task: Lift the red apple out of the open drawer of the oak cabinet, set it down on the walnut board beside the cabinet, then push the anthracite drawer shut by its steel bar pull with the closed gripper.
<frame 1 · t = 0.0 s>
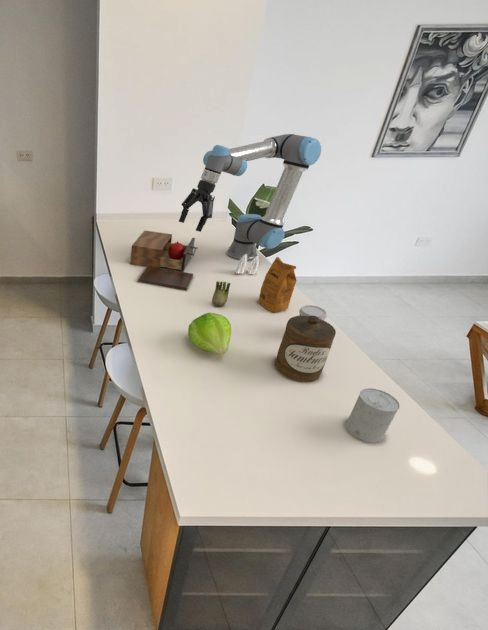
hand: (189, 226, 198), 28 cm above the table, tool tilted 20°, fingers open, 13 cm apart
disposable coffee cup: (304, 336, 168), on the table
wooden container: (296, 369, 151), on the table
shaker set: (244, 274, 217), on the table
grey metal can: (363, 430, 126), on the table
lettuce: (208, 347, 163), on the table
apple: (175, 259, 231), point 2 cm above the table, touching drawer
cabinet: (150, 258, 236), on the table
drawer: (176, 252, 228), point 6 cm above the table, slide at 11.0 cm, touching apple
coffee package: (271, 306, 189), on the table
fennel bulb: (218, 305, 190), on the table
board: (165, 279, 213), on the table
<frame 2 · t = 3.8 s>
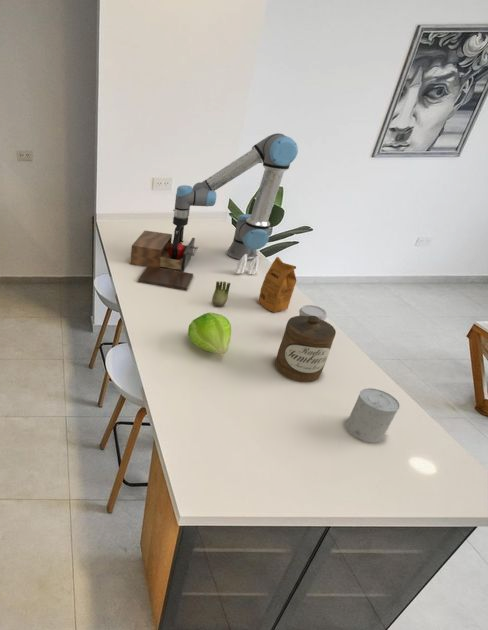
hand: (175, 256, 230), 3 cm above the table, tool pointing down, fingers closed on apple, 9 cm apart
apple: (175, 259, 231), point 2 cm above the table, touching drawer, gripper
everything else where it was.
when the fingers open (3 cm above the table, at t = 11.2 s): apple stays where it is, resting on board.
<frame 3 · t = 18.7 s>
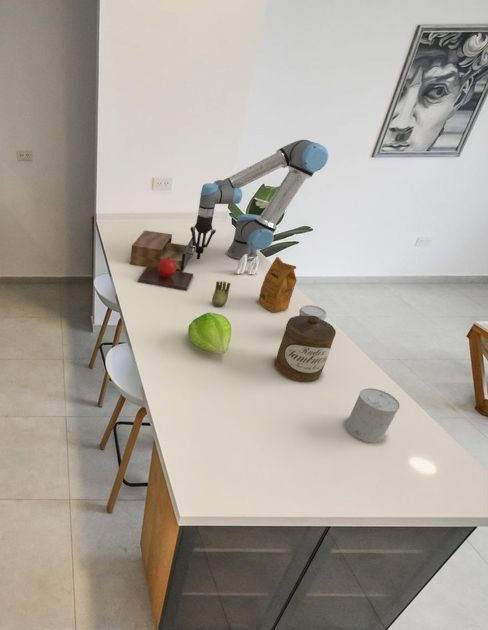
hand: (198, 258, 225), 4 cm above the table, tool pointing down, fingers closed
apple: (166, 276, 213), point 2 cm above the table, touching board
drawer: (176, 252, 228), point 6 cm above the table, slide at 10.7 cm, touching gripper
everything else where it was.
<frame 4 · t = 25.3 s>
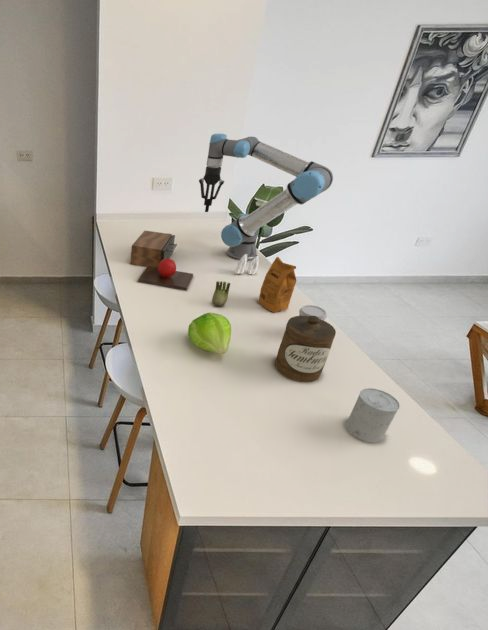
hand: (206, 211, 229), 24 cm above the table, tool pointing down, fingers closed
drawer: (157, 249, 232), point 6 cm above the table, slide at 0.0 cm
everything else where it was.
at the end: apple inside the target area on the board (0.1 cm from its centre), point 1.6 cm above the board's base; drawer slide at 0.0 cm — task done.
